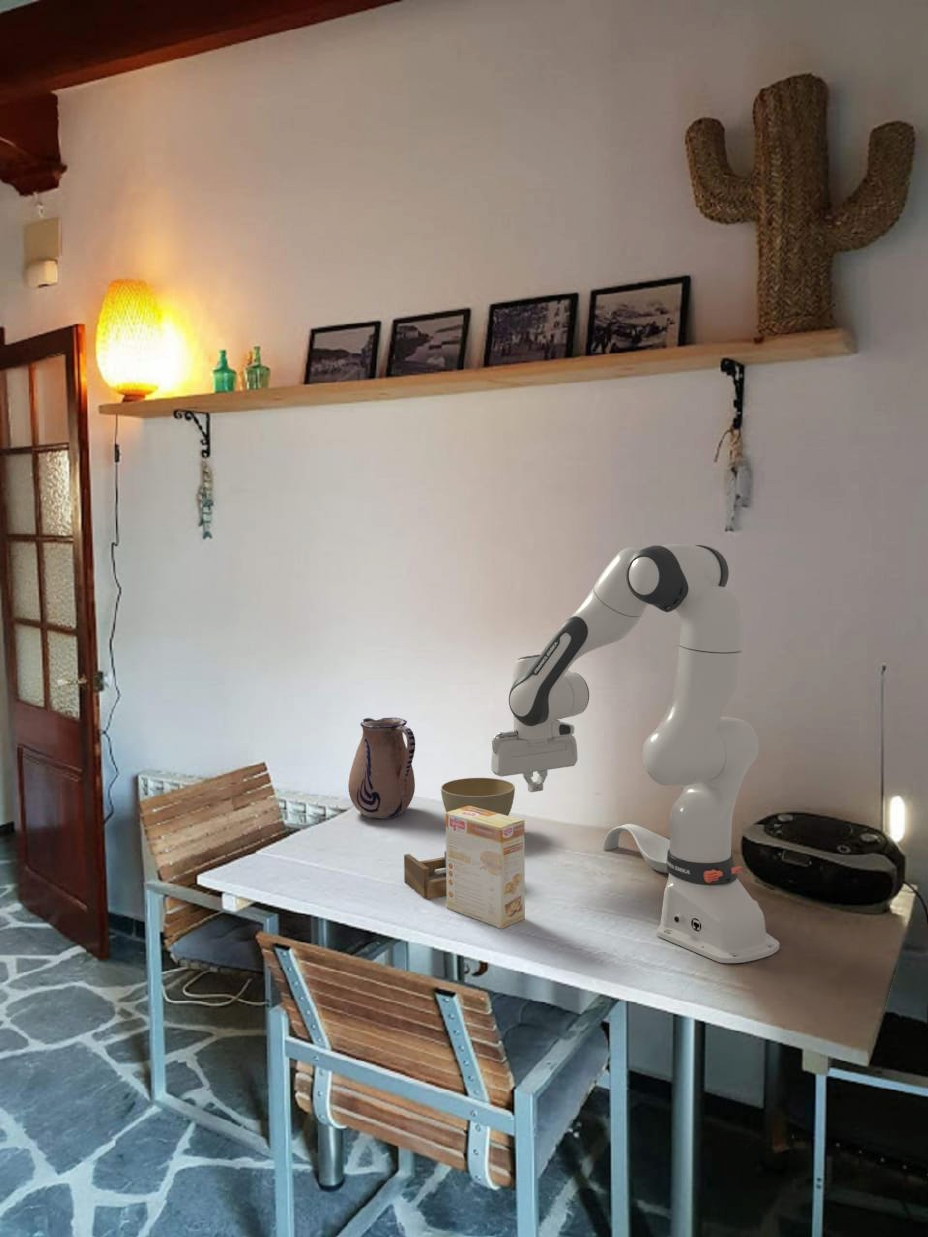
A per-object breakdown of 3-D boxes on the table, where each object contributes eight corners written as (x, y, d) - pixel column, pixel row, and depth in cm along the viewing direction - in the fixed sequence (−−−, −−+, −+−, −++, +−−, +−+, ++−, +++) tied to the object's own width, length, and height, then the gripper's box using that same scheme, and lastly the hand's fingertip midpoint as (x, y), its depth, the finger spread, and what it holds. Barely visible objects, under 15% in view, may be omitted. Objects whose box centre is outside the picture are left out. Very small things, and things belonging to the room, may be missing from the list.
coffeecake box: (526, 919, 181) (526, 819, 179) (501, 930, 176) (500, 828, 174) (470, 898, 192) (469, 804, 190) (445, 908, 187) (444, 811, 185)
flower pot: (520, 826, 239) (520, 778, 238) (507, 849, 221) (507, 798, 220) (451, 821, 243) (451, 775, 242) (433, 844, 225) (432, 794, 224)
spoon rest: (708, 870, 207) (708, 838, 206) (674, 884, 199) (674, 850, 199) (625, 844, 225) (625, 814, 224) (591, 855, 218) (591, 824, 217)
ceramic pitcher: (378, 801, 262) (376, 712, 260) (439, 813, 250) (438, 720, 248) (335, 817, 248) (333, 722, 246) (397, 831, 236) (396, 732, 234)
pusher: (449, 873, 205) (449, 850, 204) (468, 886, 197) (468, 863, 196) (427, 877, 202) (426, 854, 202) (445, 891, 194) (444, 867, 194)
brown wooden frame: (487, 864, 211) (487, 838, 210) (515, 882, 200) (515, 855, 199) (402, 880, 202) (401, 853, 201) (426, 900, 191) (425, 871, 190)
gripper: (499, 735, 199) (501, 800, 200) (580, 725, 208) (582, 787, 209) (485, 731, 205) (487, 794, 205) (564, 721, 214) (566, 782, 215)
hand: (535, 791), depth 207 cm, fingers closed
